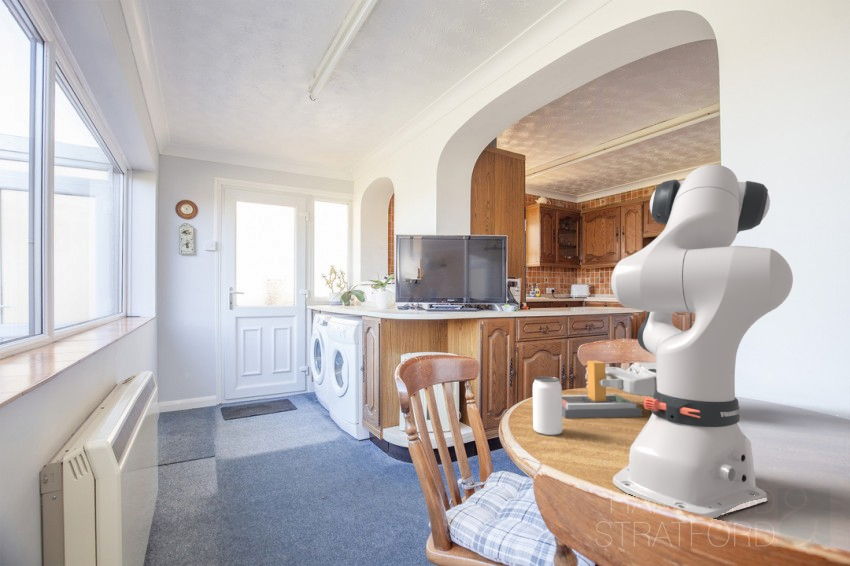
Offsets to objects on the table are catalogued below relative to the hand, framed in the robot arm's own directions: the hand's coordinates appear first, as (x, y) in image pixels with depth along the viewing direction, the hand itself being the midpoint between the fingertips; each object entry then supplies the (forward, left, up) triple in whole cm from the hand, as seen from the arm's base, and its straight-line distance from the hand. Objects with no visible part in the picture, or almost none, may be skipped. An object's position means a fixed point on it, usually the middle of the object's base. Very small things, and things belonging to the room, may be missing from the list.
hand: (593, 379), depth 107 cm
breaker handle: (+1, 0, -6) cm, 6 cm away
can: (-23, -4, -9) cm, 25 cm away
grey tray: (0, 0, -9) cm, 9 cm away
